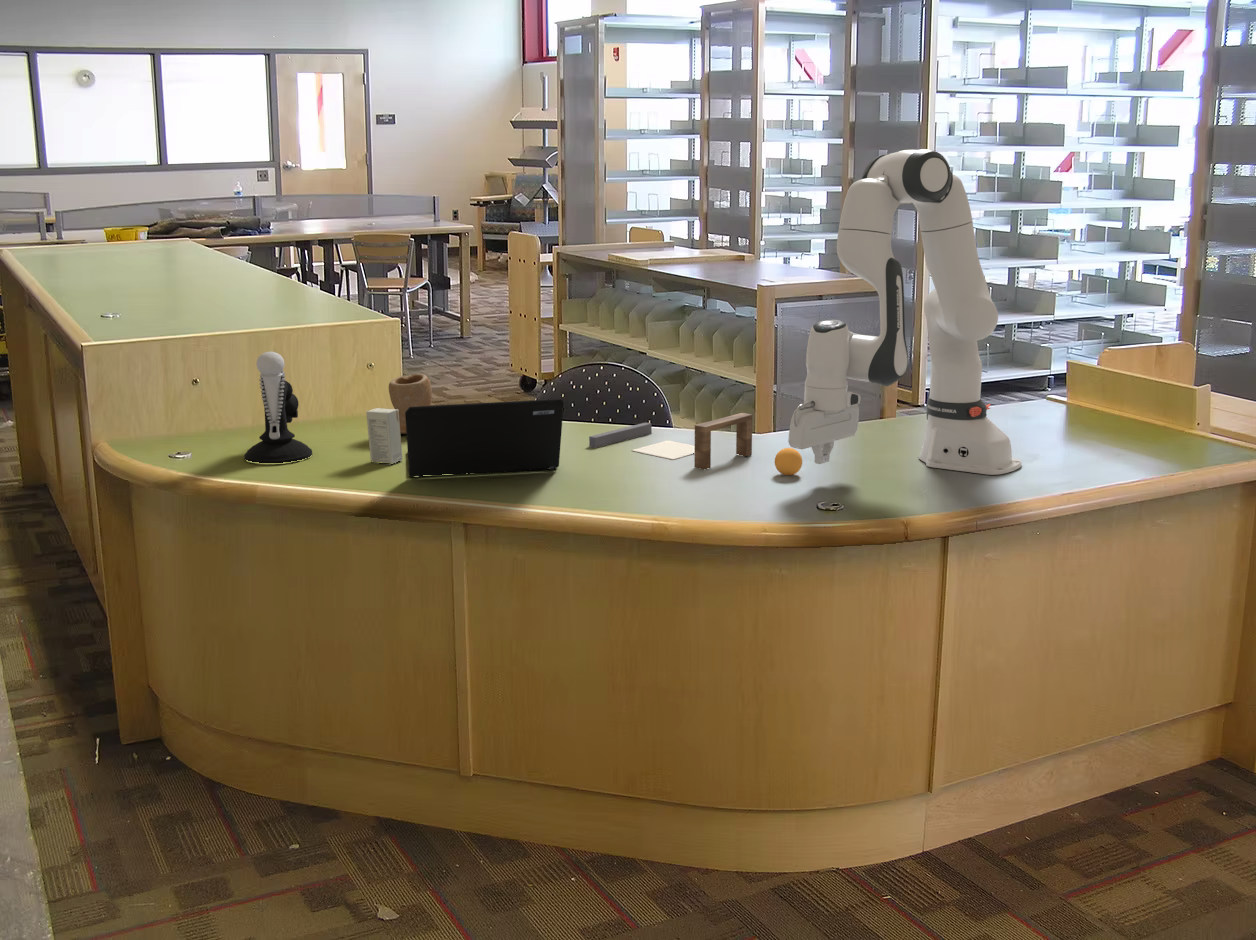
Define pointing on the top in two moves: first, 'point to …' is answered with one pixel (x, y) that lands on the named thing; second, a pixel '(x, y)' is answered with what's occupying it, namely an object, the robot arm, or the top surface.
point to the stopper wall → (620, 435)
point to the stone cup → (409, 394)
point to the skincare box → (384, 435)
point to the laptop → (484, 437)
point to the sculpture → (277, 415)
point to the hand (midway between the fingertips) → (821, 462)
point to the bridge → (705, 428)
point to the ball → (788, 461)
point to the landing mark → (667, 450)
